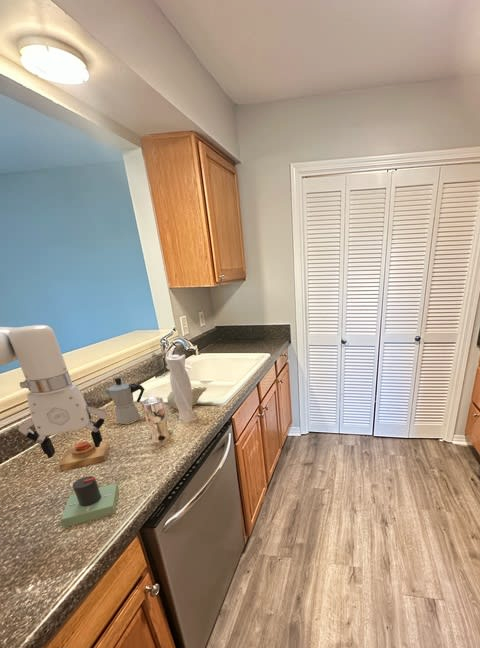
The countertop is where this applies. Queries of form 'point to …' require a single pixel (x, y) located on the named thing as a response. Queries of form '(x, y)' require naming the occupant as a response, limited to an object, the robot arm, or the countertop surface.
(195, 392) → the cheese
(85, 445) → the dispense button
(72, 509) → the dial panel
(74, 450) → the button block
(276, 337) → the countertop surface
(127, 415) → the coffee maker
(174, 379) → the skyscraper
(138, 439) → the countertop surface
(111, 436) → the countertop surface
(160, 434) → the beer glass
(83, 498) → the dial
